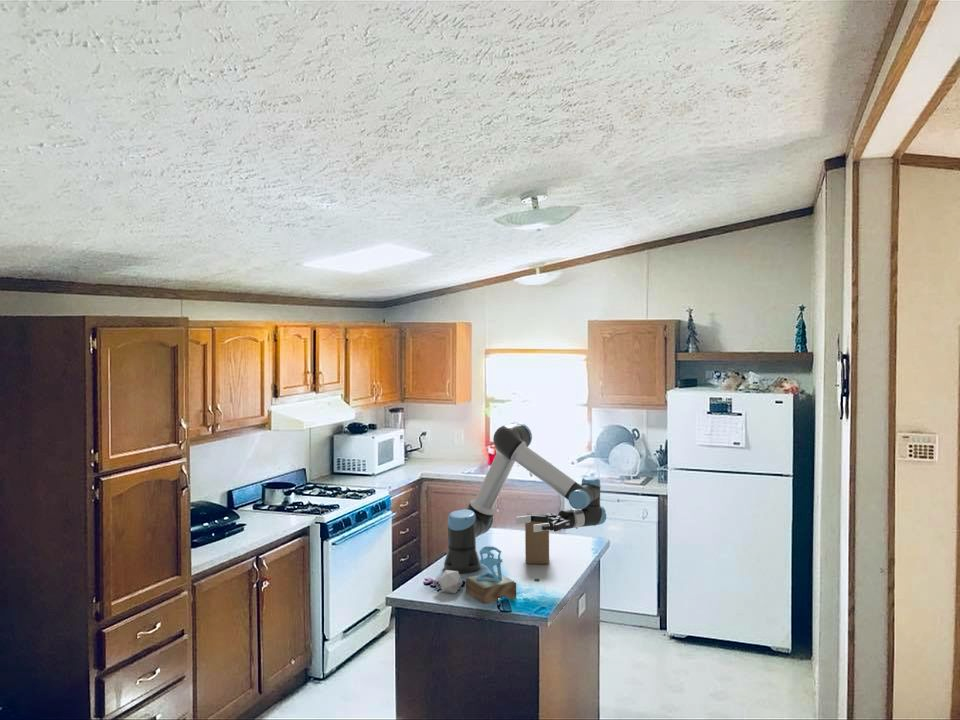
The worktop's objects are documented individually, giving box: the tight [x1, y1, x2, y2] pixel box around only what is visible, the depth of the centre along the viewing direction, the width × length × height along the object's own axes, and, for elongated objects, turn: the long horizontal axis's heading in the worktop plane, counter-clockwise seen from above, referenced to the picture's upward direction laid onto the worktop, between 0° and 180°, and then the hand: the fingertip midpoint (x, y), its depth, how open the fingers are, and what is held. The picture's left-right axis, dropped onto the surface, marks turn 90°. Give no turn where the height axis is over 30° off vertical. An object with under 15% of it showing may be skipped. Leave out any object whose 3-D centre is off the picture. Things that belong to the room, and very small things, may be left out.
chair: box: [476, 546, 503, 582], centre depth 287 cm, size 8×8×12 cm
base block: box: [465, 571, 517, 605], centre depth 287 cm, size 14×14×6 cm
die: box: [437, 569, 464, 594], centre depth 292 cm, size 8×9×10 cm
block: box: [524, 512, 550, 565], centre depth 330 cm, size 10×10×20 cm
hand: (524, 524), depth 297 cm, fingers open, 13 cm apart
